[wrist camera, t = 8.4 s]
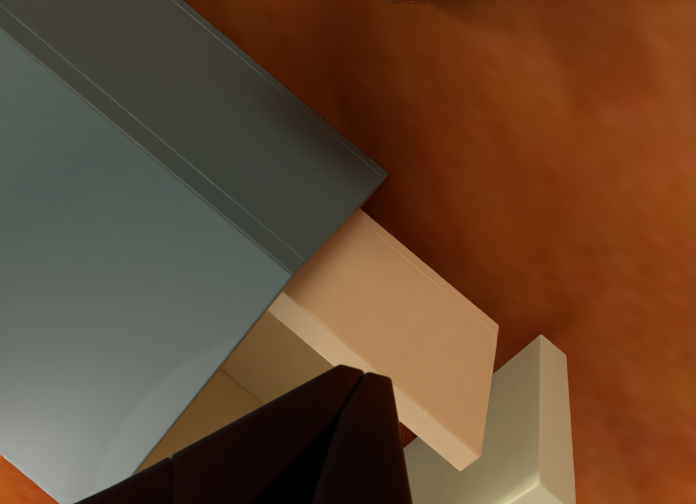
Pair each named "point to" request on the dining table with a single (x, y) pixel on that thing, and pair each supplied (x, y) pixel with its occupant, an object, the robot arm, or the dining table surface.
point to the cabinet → (142, 223)
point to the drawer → (406, 373)
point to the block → (410, 1)
